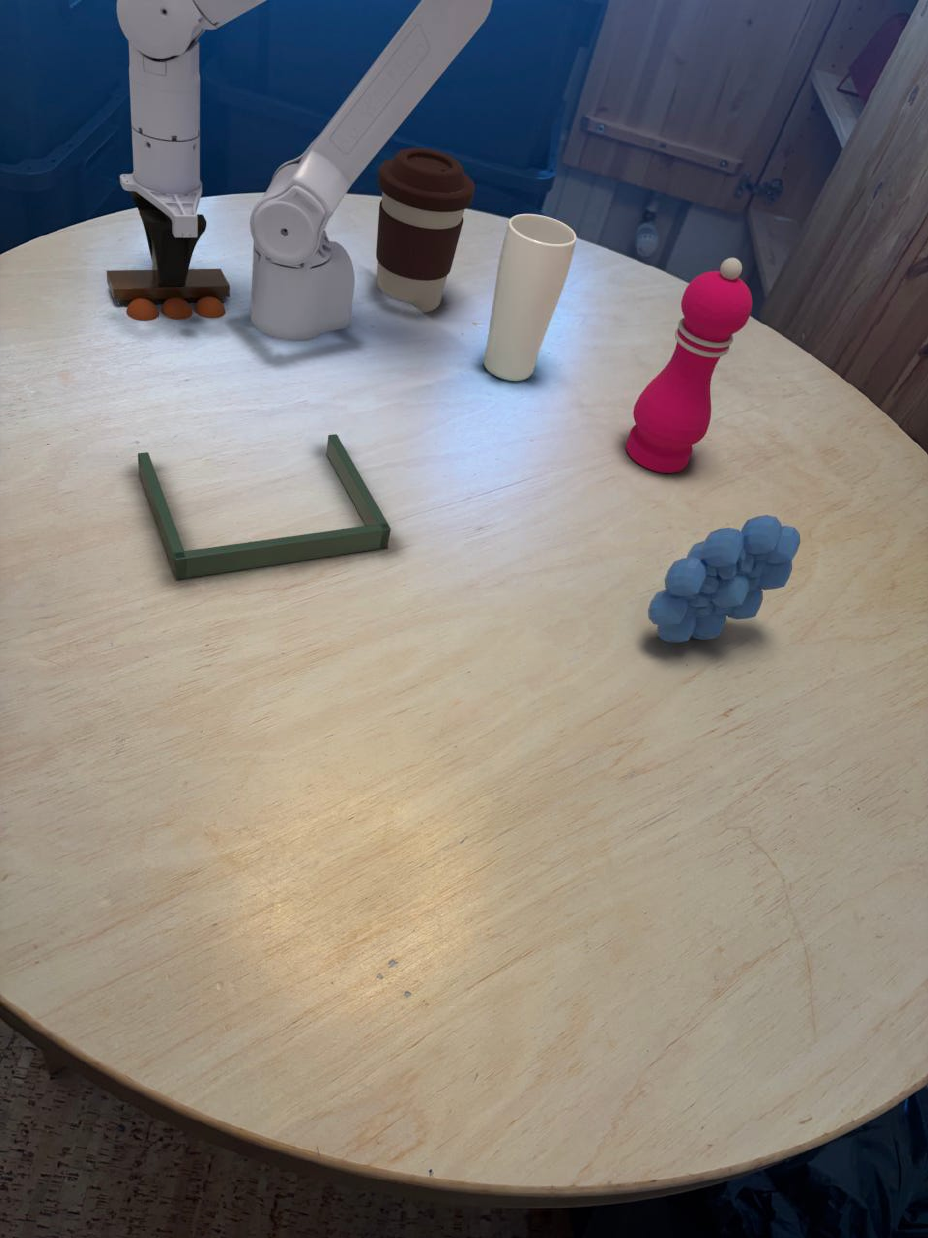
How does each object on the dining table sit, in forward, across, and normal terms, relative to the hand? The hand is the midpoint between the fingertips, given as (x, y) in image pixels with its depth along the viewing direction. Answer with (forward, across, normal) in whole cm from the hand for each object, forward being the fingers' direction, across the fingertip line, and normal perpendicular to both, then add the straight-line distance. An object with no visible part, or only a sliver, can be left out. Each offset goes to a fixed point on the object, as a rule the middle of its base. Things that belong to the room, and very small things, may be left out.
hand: (169, 275), depth 92 cm
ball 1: (+2, +3, -3) cm, 5 cm away
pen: (+3, +31, 0) cm, 32 cm away
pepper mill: (+3, +31, +40) cm, 51 cm away
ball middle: (+2, +3, 0) cm, 4 cm away
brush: (+3, 0, 0) cm, 3 cm away
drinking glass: (+4, +14, +31) cm, 35 cm away
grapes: (+3, +52, +29) cm, 60 cm away
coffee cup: (+4, -1, +26) cm, 26 cm away
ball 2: (+2, +3, +3) cm, 5 cm away
